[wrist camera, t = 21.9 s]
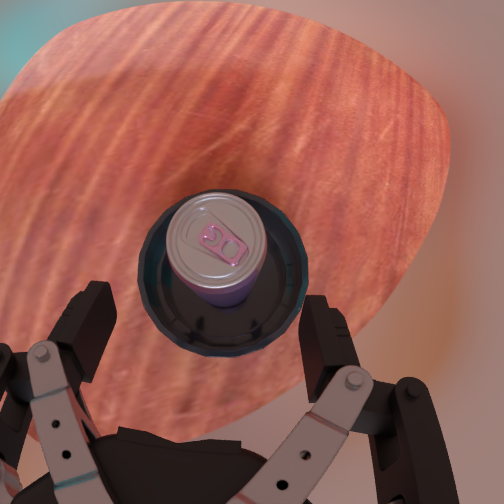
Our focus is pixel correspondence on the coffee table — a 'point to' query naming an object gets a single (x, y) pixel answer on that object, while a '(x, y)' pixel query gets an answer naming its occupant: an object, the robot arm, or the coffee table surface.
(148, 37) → the coffee table surface
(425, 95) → the coffee table surface
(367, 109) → the coffee table surface
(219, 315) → the dark round dish
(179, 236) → the beverage can
